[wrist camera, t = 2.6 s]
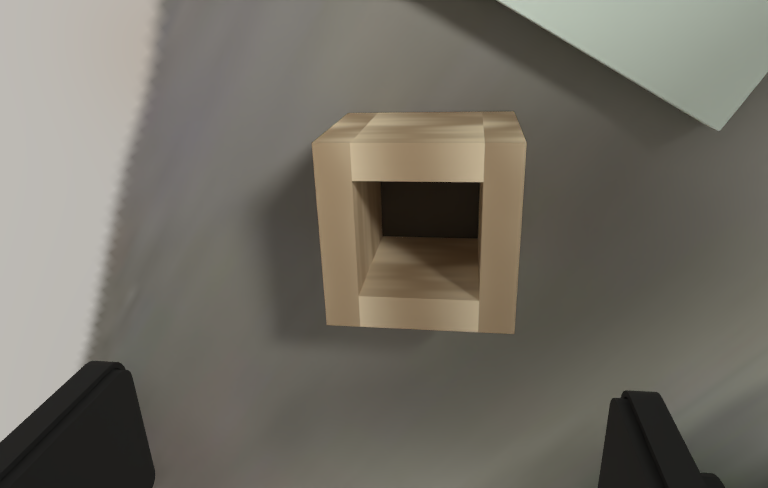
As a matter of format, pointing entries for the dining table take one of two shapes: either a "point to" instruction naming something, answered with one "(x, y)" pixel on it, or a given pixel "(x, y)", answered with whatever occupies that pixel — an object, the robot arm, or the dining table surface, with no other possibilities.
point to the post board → (668, 46)
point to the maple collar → (420, 254)
